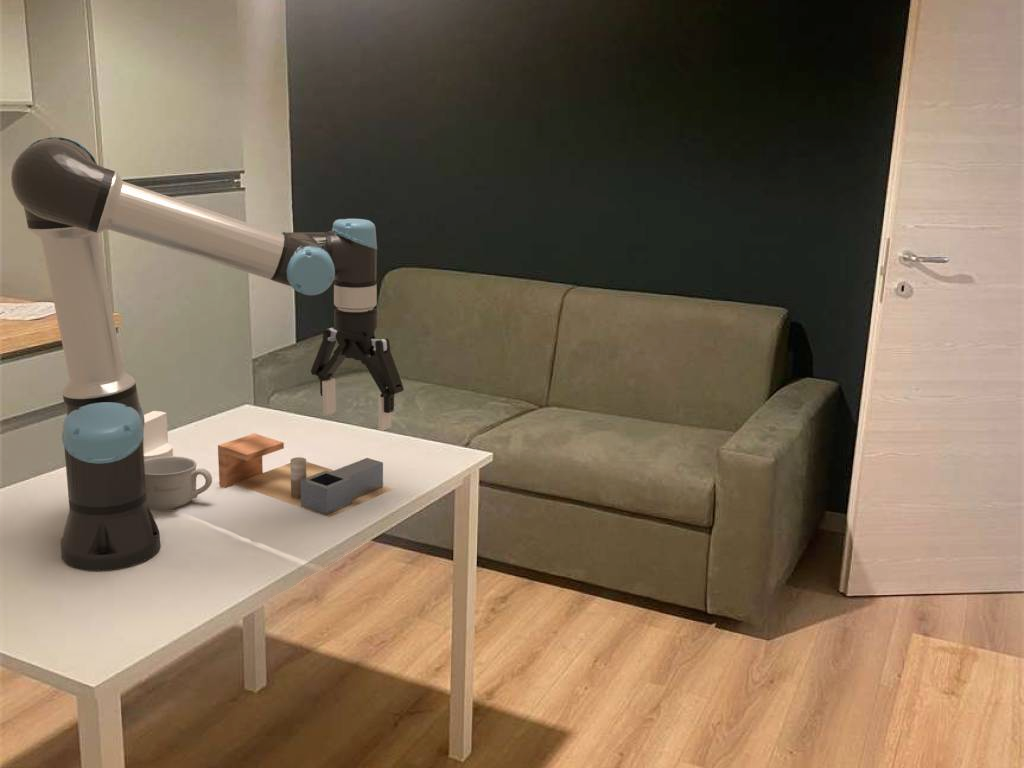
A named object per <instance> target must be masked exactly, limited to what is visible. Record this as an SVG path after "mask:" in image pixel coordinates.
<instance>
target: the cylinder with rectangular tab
mask: <svg viewBox="0 0 1024 768" xmlns="http://www.w3.org/2000/svg"><path fill="white" fill-rule="evenodd" d="M167 415H168V414H167V412H165V411H160V410H159V411H158V410H152V411H150V412H147V413H144V440H143V444H144V460H146V459H151V458H156V457H169V456H174V454H173V453H174V451H173V444H171V442H169V434H168V416H167Z"/></svg>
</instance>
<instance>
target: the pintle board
mask: <svg viewBox="0 0 1024 768" xmlns="http://www.w3.org/2000/svg"><path fill="white" fill-rule="evenodd" d="M284 444H285V443H284V441H281V440H280V441H279V440H278V439H273V438H271V437H268V436H263V435H260V434H258V433H252V434H249V435H245V436H242V437H239V438H236V439H233V440H230V441H227V442H223V443H220V444H218V445H217V455H218V456H217V457H218V479H219V480H218V481H219V487H221V488H224V489H228V488H231V487H232V486H239V487H242V488H245V489H248V490H251V491H254V492H256V493H259V494H262V495H265V496H268V497H271V498H273V499H277V500H280V501H282V502H285V503H288V504H290V505H294V506H296V507H299V508H302V509H305V510H308V511H311V512H314V513H316V514H319V515H321V516H324V517H327V518H330V517H331V518H332V517H333V516H336V515H337V514H340V513H342V512H344V511H347V510H349V509H351V508H354V507H356V506H358V505H360V504H362V503H365V502H367V501H369V500H371V499H374V498H377V497H379V496H381V495H383V494H386V493H388V492H390V491H393V488H391V487H387V486H385V485H383V488H380V489H378V490H376V491H373V492H371V493H369V494H366V495H364V496H362V497H359V498H357V499H355V500H352V505H350V506H347V507H345V508H343V509H340V510H338V511H336V512H334V513H331V514H329V515H325V514H322V513H319V512H316V511H313V510H311V509H308V508H305V507H302V506H301V480H302V479H305V478H308V477H310V476H313V475H315V474H318V473H321V472H323V471H330V472H332V471H334V469H331V468H328V467H324V466H322V465H318V464H315V463H312V462H309V461H307V459H306V458H305V457H302V456H301V457H300V456H299V457H293V458H291V459H290V463H286V464H284V465H281V466H278V467H276V468H273V469H270V470H267V471H265V472H264V471H263V469H264V467H263V466H264V465H263V456H265V455H269V454H272V453H275V452H277V451H281V450H283V449H284V448H285V447H284Z"/></svg>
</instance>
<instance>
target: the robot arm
mask: <svg viewBox="0 0 1024 768" xmlns="http://www.w3.org/2000/svg"><path fill="white" fill-rule="evenodd" d="M10 178H11V180H10V181H11V187H12V190H13V193H14V196H15V197H16V199H17V202H19V203H20V205H22V207H23V210H24V214H25V215H24V216H25V219H26V224H27V229H28V230H29V231H30V232H31V233H33V234H35V236H38V238H40V241H41V246H42V251H43V256H44V260H45V265H46V270H47V275H48V281H49V285H50V290H51V295H52V299H53V306H54V310H55V314H56V315H55V316H56V319H57V324H58V329H59V335H60V339H61V343H62V349H63V355H64V359H65V364H66V369H67V373H68V378H69V381H68V383H66V385H65V386H64V388H63V389H62V391H61V394H62V398H63V403H64V407H65V408H64V409H65V412H66V417H65V418H64V421H63V425H62V432H61V440H62V444H63V447H64V459H65V470H66V472H65V473H66V482H67V483H66V485H67V497H68V514H67V517H66V518H67V519H66V522H65V526H64V530H63V534H62V537H61V540H60V555H61V559H62V561H63V562H64V563H65V564H67V565H68V566H71V567H72V568H76V569H80V570H86V571H87V570H88V571H109V570H110V571H111V570H118V569H119V570H120V569H122V568H123V569H124V568H128V567H132V566H135V565H137V564H141V563H143V562H145V561H147V560H149V559H151V558H152V557H154V556H156V554H158V552H159V551H160V548H161V546H162V545H161V544H162V543H161V533H160V529H159V527H158V525H157V523H156V521H155V519H154V516H153V513H152V510H151V509H149V507H148V504H147V500H146V483H145V467H144V444H143V440H144V415H145V413H144V410H143V408H142V406H141V404H140V399H139V394H138V389H137V383H136V380H135V378H134V377H133V376H132V375H130V374H129V373H126V372H125V370H124V365H123V360H122V359H123V358H122V353H121V350H120V349H121V348H120V343H119V339H118V333H117V327H116V323H115V318H114V312H113V306H112V301H111V296H110V290H109V285H108V279H107V274H106V269H105V264H104V258H103V252H102V248H101V242H100V238H99V234H100V233H102V232H105V231H112V232H115V233H119V234H123V235H125V236H128V237H131V238H136V239H139V240H142V241H145V242H148V243H152V244H153V245H158V246H161V247H164V248H167V249H170V250H174V251H177V252H180V253H184V254H186V255H190V256H193V257H197V258H200V259H203V260H206V261H210V262H212V263H216V264H219V265H222V266H225V267H229V268H231V269H235V270H239V271H242V272H245V273H249V274H252V275H254V276H257V277H262V278H264V279H267V280H270V281H274V282H276V283H279V284H281V285H285V286H289V287H291V288H292V289H294V290H295V291H296V292H298V293H300V294H303V295H307V296H317V295H319V294H322V293H324V292H326V291H327V290H328V289H329V288H330V287H331V286H332V284H333V305H334V306H335V307H336V308H335V309H334V310H333V315H334V316H333V317H334V319H333V321H334V322H333V323H334V324H333V325H334V326H333V327H330V328H325V329H324V330H323V333H322V340H321V343H320V347H319V349H318V351H317V355H316V357H315V359H314V361H313V364H312V367H311V369H310V372H311V375H312V376H316V377H318V379H319V387H320V388H319V390H320V391H319V394H320V396H321V397H322V415H323V416H329V415H332V414H335V413H337V397H336V392H337V391H336V378H333V377H335V376H334V374H335V373H336V372H337V370H338V369H339V367H340V366H341V365H342V363H343V362H344V361H345V360H346V359H353V360H356V361H360V363H362V365H364V366H365V367H366V368H367V371H368V372H369V374H370V375H371V377H372V379H373V382H374V383H375V384H376V386H377V388H378V389H379V391H380V393H381V394H378V395H377V396H378V397H377V399H378V401H377V405H378V406H377V409H378V415H377V417H378V418H377V419H378V420H377V425H378V427H377V431H380V432H382V431H385V430H387V429H390V428H392V413H394V410H395V394H399V393H402V392H403V391H404V390H405V388H404V386H403V383H402V380H401V378H400V377H401V376H400V375H399V372H398V368H397V366H396V363H395V360H394V357H393V355H392V352H391V347H390V339H389V338H388V337H386V338H382V339H380V338H378V339H377V338H376V336H375V332H376V329H377V327H378V309H376V306H377V305H378V304H377V303H378V302H377V300H378V299H377V298H378V297H377V296H378V295H377V294H378V293H377V291H378V290H377V287H378V286H377V264H378V263H377V262H378V261H377V257H378V255H377V252H378V246H377V245H378V243H377V232H376V225H375V224H374V222H372V221H371V220H368V219H364V218H363V219H362V218H338V219H335V221H334V222H333V223H332V228H331V230H330V231H323V232H319V231H318V232H308V231H307V232H306V231H305V232H286V231H281V232H276V231H273V230H270V229H267V228H264V227H261V226H259V225H256V224H253V223H249V222H246V221H244V220H243V221H242V220H240V219H237V218H234V217H231V216H229V215H224V214H222V213H220V212H216V211H215V210H210V209H207V208H204V207H201V206H198V205H196V204H192V203H189V202H188V201H187V202H186V201H183V200H180V199H178V198H174V197H171V196H168V195H164V194H162V193H159V192H158V191H157V192H156V191H154V190H150V189H147V188H145V187H142V186H139V185H136V184H132V183H130V182H126V181H124V180H122V178H121V175H119V173H118V171H115V170H111V169H109V168H106V167H103V166H100V165H99V164H98V163H97V161H96V159H95V157H94V156H93V155H92V153H91V152H90V151H89V150H88V149H87V148H86V147H85V146H83V144H81V143H79V142H78V141H76V140H73V139H70V138H66V137H64V136H63V137H62V136H59V137H58V136H57V137H56V136H55V137H54V136H50V137H44V138H40V139H37V140H35V141H33V142H32V143H31V144H30V145H28V146H27V147H26V149H24V150H23V151H22V152H21V153H20V154H19V155H18V156H17V158H16V159H15V162H14V163H13V166H12V169H11V177H10ZM336 343H338V345H337V347H336V348H335V346H336ZM334 348H335V350H334Z"/></svg>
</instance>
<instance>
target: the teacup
mask: <svg viewBox="0 0 1024 768" xmlns="http://www.w3.org/2000/svg"><path fill="white" fill-rule="evenodd" d="M144 467H145V483H146V500H147V504H148V507H149V509H150V511H156V512H170V511H176V508H179V507H182V506H184V505H187V504H189V502H191V501H192V500H195V499H197V497H198V496H199V495H201V494H202V493H204V492H205V491H207V490H208V489H209V488H210V487H211V486H212V483H213V477H212V475H211V473H210V471H208V470H207V469H205V468H197V461H195V460H194V459H192V458H189V457H185V456H175V455H173V456H169V457H156V458H151V459H146V460H144ZM199 475H201V476H203V477H204V479H205V483H204V485H202V487H200V488H197V477H198V476H199Z"/></svg>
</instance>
